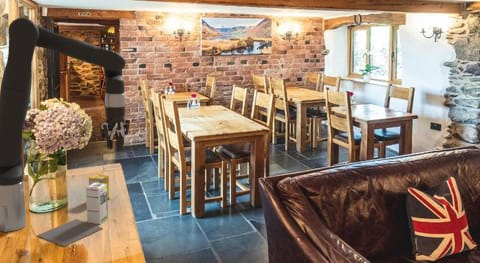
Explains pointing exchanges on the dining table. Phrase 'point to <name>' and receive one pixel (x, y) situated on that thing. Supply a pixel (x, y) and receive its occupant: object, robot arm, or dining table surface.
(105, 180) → the supplement box
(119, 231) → the dining table surface
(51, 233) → the charcoal mat
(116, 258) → the dining table surface
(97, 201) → the syrup box
